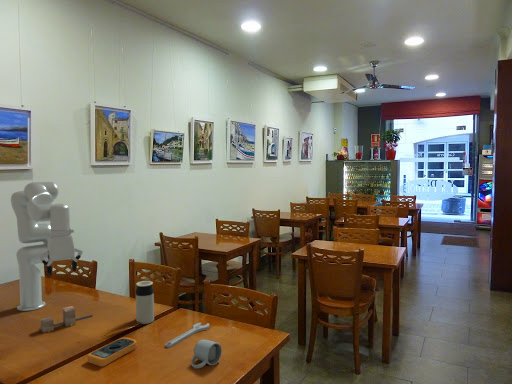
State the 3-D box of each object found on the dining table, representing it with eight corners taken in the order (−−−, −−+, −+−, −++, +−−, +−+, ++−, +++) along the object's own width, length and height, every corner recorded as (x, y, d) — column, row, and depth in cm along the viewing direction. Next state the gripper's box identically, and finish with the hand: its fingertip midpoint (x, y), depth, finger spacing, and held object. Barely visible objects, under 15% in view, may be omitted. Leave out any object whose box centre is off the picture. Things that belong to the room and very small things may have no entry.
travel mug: (157, 319, 181) (157, 281, 180) (146, 325, 173) (145, 286, 172) (144, 316, 184) (143, 279, 183) (132, 322, 177) (131, 284, 176)
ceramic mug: (206, 353, 146) (206, 334, 146) (222, 360, 142) (222, 340, 141) (185, 365, 138) (185, 345, 138) (201, 372, 133) (201, 351, 133)
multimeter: (139, 348, 152) (139, 339, 152) (102, 369, 136) (102, 359, 136) (124, 343, 156) (123, 335, 156) (86, 363, 140) (85, 354, 140)
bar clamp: (40, 329, 167) (39, 318, 167) (91, 316, 182) (91, 306, 182) (43, 333, 163) (43, 322, 162) (96, 320, 178) (96, 309, 177)
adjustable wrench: (168, 349, 151) (168, 345, 151) (158, 345, 155) (157, 341, 155) (211, 327, 172) (211, 324, 172) (201, 324, 175) (201, 320, 175)
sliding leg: (63, 324, 172) (62, 308, 172) (72, 321, 175) (72, 306, 175) (66, 327, 169) (65, 311, 168) (76, 324, 171) (75, 308, 171)
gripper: (78, 230, 174) (80, 267, 175) (35, 235, 163) (37, 275, 164) (84, 232, 169) (85, 270, 170) (40, 236, 157) (42, 278, 158)
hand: (62, 272), depth 167 cm, fingers open, 9 cm apart
